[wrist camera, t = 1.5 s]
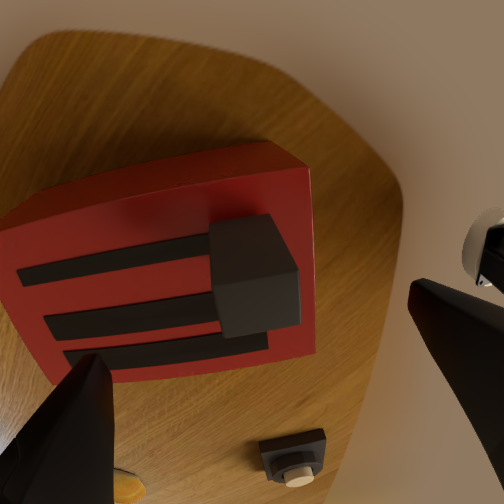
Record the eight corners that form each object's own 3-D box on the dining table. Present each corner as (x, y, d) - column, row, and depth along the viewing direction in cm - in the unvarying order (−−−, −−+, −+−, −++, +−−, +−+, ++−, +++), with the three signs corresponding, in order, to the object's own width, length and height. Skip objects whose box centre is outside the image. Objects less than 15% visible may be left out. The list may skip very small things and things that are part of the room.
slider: (269, 212, 12) (300, 268, 9) (274, 257, 13) (302, 325, 10) (208, 222, 12) (210, 284, 8) (217, 267, 13) (223, 340, 9)
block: (322, 428, 35) (330, 450, 32) (319, 459, 39) (325, 478, 36) (258, 442, 34) (263, 465, 31) (265, 471, 39) (269, 491, 36)
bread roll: (135, 468, 35) (133, 492, 32) (149, 489, 39) (149, 509, 36) (83, 463, 34) (79, 485, 31) (103, 485, 38) (101, 504, 35)
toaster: (271, 140, 19) (310, 167, 12) (284, 278, 24) (316, 354, 17) (38, 191, 18) (-28, 241, 11) (83, 310, 23) (51, 386, 16)
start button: (311, 462, 33) (314, 474, 32) (310, 472, 35) (313, 483, 33) (282, 469, 33) (285, 480, 32) (283, 478, 35) (286, 489, 33)
